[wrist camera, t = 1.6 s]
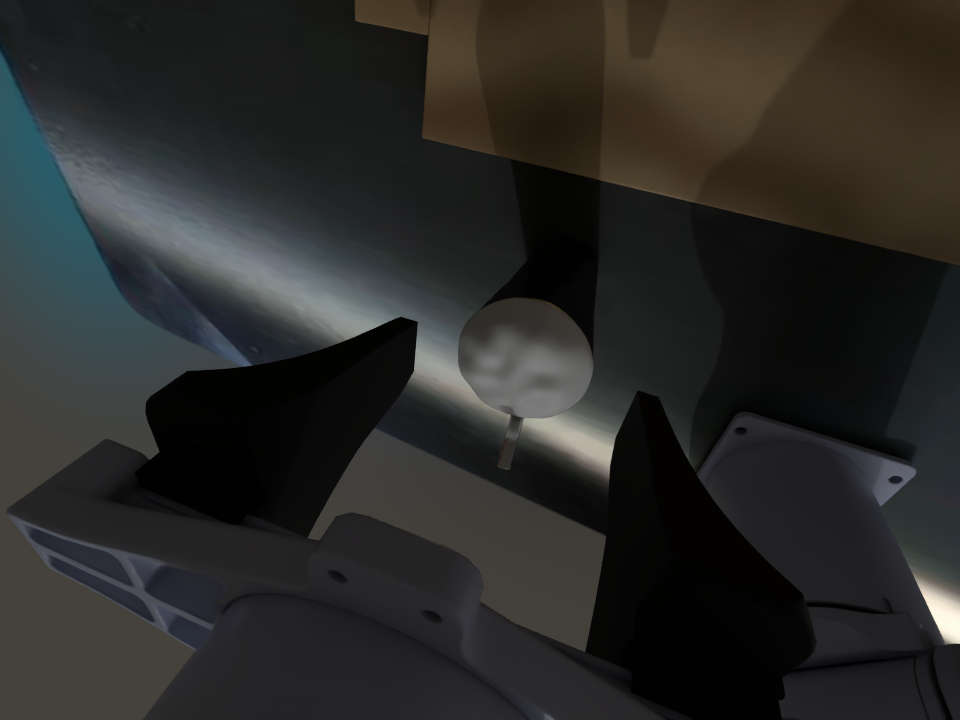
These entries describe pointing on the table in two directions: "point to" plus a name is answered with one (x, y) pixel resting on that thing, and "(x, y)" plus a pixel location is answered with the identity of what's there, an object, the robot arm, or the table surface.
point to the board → (714, 102)
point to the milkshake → (534, 339)
